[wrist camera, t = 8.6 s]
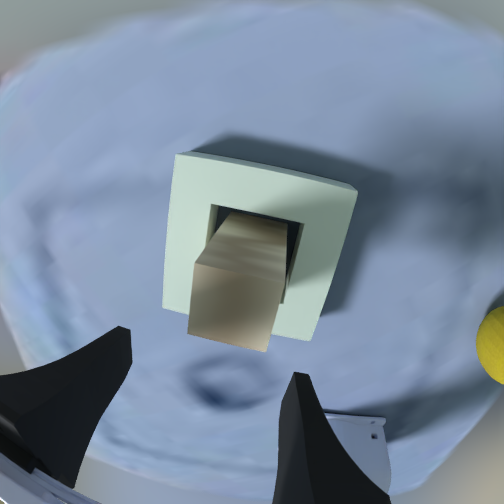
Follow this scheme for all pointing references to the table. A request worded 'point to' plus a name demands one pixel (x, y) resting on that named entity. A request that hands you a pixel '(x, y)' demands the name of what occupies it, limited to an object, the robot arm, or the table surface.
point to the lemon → (492, 344)
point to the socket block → (263, 202)
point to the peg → (239, 282)
